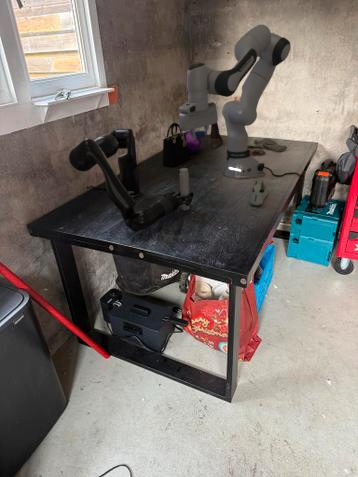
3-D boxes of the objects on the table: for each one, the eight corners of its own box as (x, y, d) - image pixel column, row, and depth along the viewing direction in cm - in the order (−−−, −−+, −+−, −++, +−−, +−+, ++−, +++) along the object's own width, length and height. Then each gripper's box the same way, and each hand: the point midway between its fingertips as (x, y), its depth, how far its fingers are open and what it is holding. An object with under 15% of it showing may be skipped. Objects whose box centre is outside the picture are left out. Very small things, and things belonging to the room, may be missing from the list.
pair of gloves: (252, 157, 216) (252, 149, 214) (231, 148, 237) (231, 141, 234) (288, 150, 226) (289, 142, 223) (266, 142, 247) (266, 135, 244)
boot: (223, 140, 259) (224, 113, 249) (220, 148, 239) (221, 119, 229) (212, 140, 261) (212, 113, 251) (208, 148, 241) (208, 120, 231)
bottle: (190, 206, 155) (188, 167, 146) (189, 210, 152) (188, 170, 142) (181, 206, 156) (179, 167, 146) (181, 210, 152) (179, 170, 143)
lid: (192, 136, 154) (192, 132, 153) (202, 134, 155) (202, 130, 154) (196, 138, 150) (196, 134, 149) (206, 137, 151) (206, 132, 150)
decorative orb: (204, 151, 235) (204, 129, 228) (194, 156, 225) (193, 134, 217) (186, 149, 243) (186, 128, 235) (175, 154, 232) (174, 132, 224)
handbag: (173, 167, 206) (170, 126, 194) (161, 166, 211) (158, 125, 198) (190, 158, 221) (188, 120, 209) (178, 157, 225) (176, 119, 213)
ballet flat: (269, 188, 169) (270, 173, 165) (265, 208, 149) (266, 191, 145) (252, 187, 171) (253, 172, 167) (246, 206, 151) (247, 190, 147)
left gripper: (178, 201, 135) (201, 188, 147) (152, 195, 143) (175, 182, 154) (179, 218, 139) (201, 203, 150) (153, 210, 146) (176, 197, 158)
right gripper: (211, 101, 153) (212, 131, 160) (175, 108, 143) (178, 140, 150) (220, 102, 148) (220, 133, 155) (184, 109, 138) (186, 142, 145)
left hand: (188, 193), depth 152 cm, fingers closed on bottle, 4 cm apart
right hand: (199, 136), depth 152 cm, fingers closed on lid, 5 cm apart
